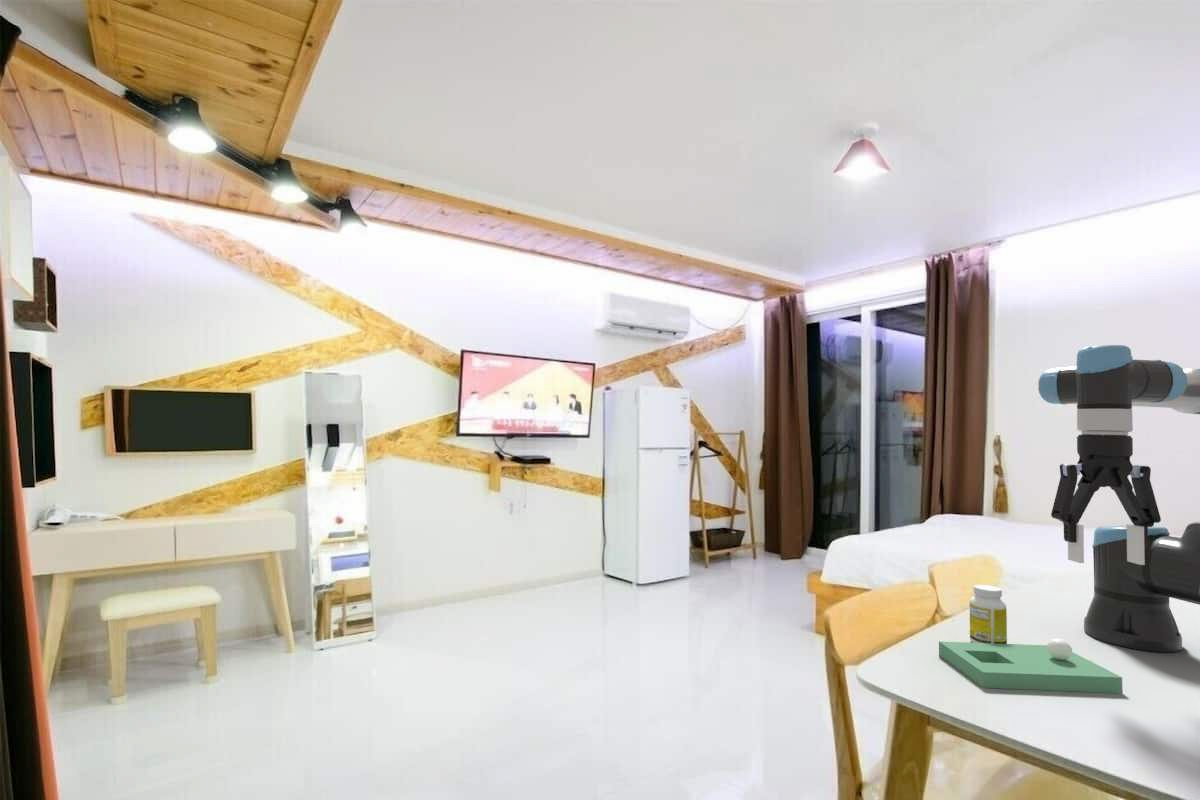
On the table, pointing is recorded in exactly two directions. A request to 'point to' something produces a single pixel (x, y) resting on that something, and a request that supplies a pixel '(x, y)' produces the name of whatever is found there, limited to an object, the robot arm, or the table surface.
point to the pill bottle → (988, 616)
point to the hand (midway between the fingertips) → (1105, 562)
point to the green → (1027, 668)
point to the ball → (1059, 649)
